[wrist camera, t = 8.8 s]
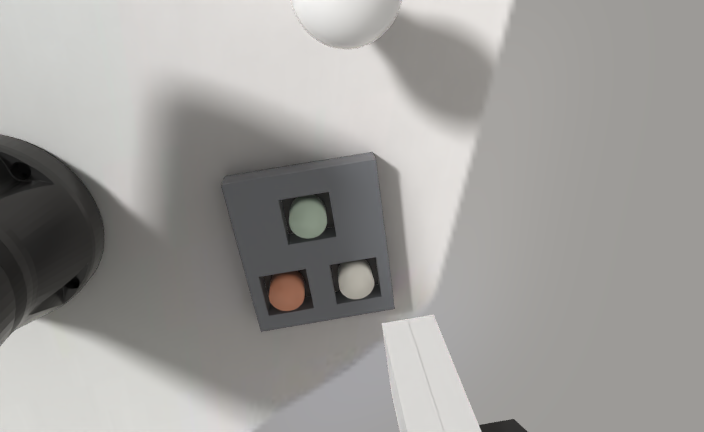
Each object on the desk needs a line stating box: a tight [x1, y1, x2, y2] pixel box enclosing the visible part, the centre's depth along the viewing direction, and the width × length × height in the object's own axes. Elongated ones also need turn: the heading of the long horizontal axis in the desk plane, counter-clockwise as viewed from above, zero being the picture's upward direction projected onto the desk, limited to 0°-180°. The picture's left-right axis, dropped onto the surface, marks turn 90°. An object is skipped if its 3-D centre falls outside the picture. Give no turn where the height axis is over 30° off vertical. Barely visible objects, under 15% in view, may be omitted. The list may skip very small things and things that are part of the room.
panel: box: [221, 152, 395, 332], centre depth 41 cm, size 12×14×2 cm
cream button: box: [338, 259, 374, 299], centre depth 42 cm, size 3×3×2 cm
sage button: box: [289, 195, 327, 239], centre depth 39 cm, size 3×3×2 cm
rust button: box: [269, 271, 305, 311], centre depth 42 cm, size 3×3×2 cm
